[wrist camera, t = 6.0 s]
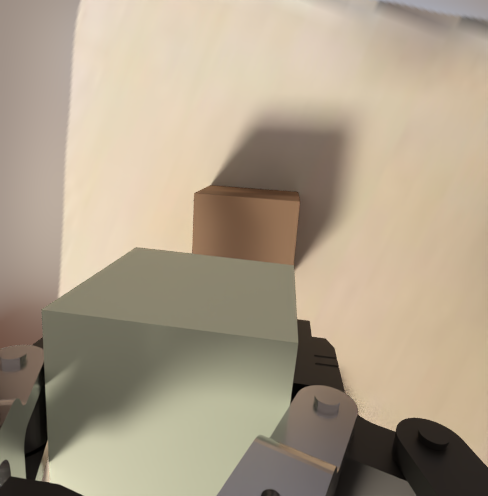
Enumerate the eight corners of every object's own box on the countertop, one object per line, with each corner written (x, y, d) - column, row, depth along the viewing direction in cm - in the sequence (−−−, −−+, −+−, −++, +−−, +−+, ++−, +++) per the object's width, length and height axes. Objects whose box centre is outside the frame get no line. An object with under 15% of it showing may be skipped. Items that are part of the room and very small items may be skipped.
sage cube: (294, 265, 12) (298, 343, 7) (276, 405, 13) (270, 550, 9) (136, 247, 13) (41, 309, 8) (133, 385, 14) (51, 513, 9)
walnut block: (297, 191, 27) (300, 201, 22) (289, 275, 28) (289, 302, 23) (210, 184, 27) (194, 193, 22) (207, 267, 29) (191, 291, 24)
